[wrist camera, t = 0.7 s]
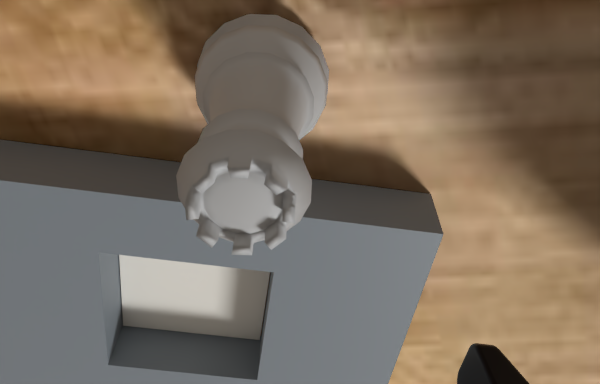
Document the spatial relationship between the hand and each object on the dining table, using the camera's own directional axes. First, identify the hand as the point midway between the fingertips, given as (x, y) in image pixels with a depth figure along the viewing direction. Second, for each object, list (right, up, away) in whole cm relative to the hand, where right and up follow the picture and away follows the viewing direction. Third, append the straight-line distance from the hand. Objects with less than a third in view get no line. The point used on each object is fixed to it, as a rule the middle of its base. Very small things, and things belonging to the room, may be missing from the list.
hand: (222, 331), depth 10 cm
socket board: (-3, -1, +15) cm, 15 cm away
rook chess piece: (0, +7, +9) cm, 12 cm away
